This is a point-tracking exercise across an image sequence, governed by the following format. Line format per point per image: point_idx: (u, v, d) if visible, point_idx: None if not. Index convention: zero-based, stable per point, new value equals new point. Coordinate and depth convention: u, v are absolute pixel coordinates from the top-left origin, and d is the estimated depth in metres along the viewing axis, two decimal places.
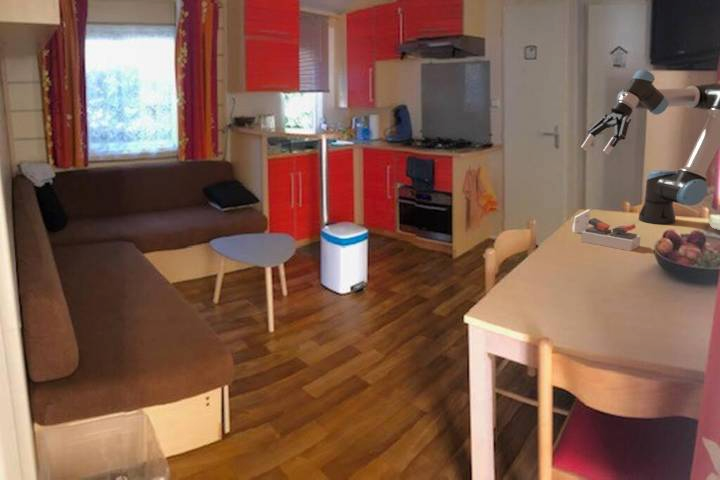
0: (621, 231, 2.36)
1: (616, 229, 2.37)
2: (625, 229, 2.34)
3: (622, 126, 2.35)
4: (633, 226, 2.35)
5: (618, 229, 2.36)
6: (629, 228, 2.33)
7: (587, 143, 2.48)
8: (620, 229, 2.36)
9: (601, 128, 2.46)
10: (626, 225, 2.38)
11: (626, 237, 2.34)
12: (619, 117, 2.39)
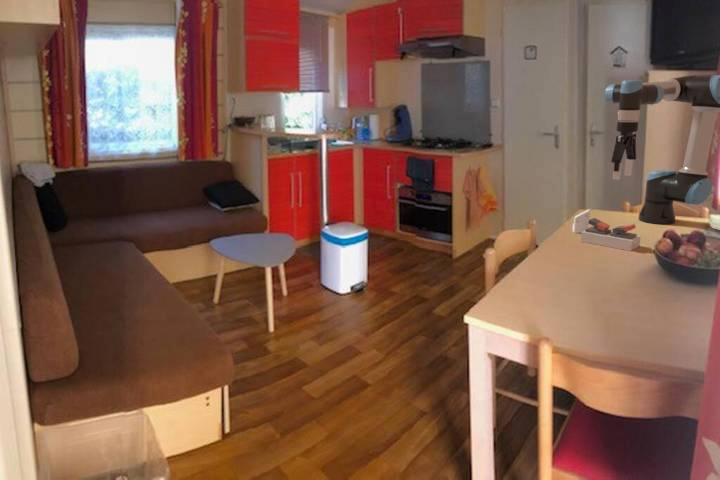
0: (621, 231, 2.36)
1: (616, 229, 2.37)
2: (625, 229, 2.34)
3: None
4: (633, 226, 2.35)
5: (618, 229, 2.36)
6: (629, 228, 2.33)
7: (627, 169, 2.43)
8: (620, 229, 2.36)
9: (628, 149, 2.39)
10: (626, 225, 2.38)
11: (626, 237, 2.34)
12: None
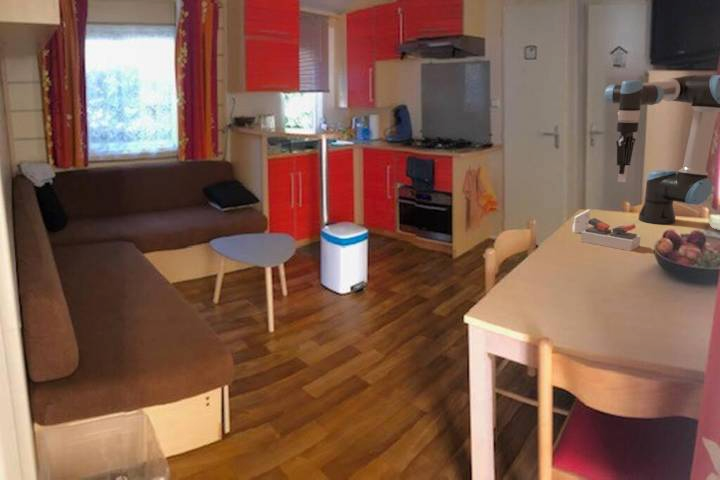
0: (621, 231, 2.36)
1: (616, 229, 2.37)
2: (625, 229, 2.34)
3: None
4: (633, 226, 2.35)
5: (618, 229, 2.36)
6: (629, 228, 2.33)
7: None
8: (620, 229, 2.36)
9: None
10: (626, 225, 2.38)
11: (626, 237, 2.34)
12: None
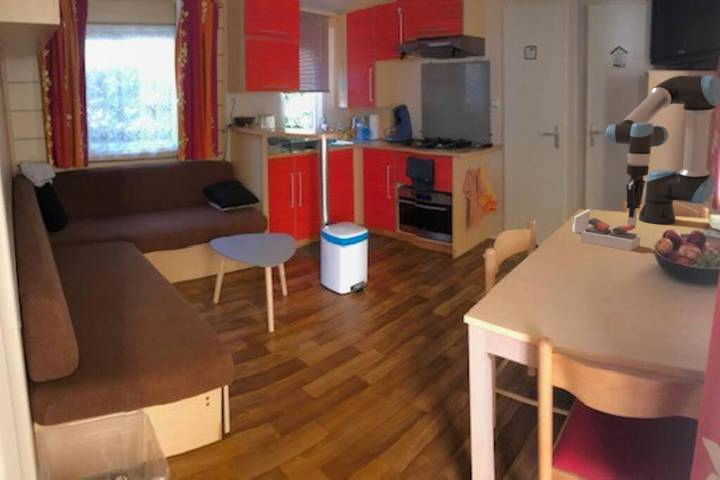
0: (621, 231, 2.36)
1: (616, 229, 2.37)
2: (625, 229, 2.34)
3: None
4: (633, 226, 2.35)
5: (618, 229, 2.36)
6: (629, 228, 2.33)
7: None
8: (620, 229, 2.36)
9: None
10: (626, 225, 2.38)
11: (626, 237, 2.34)
12: None
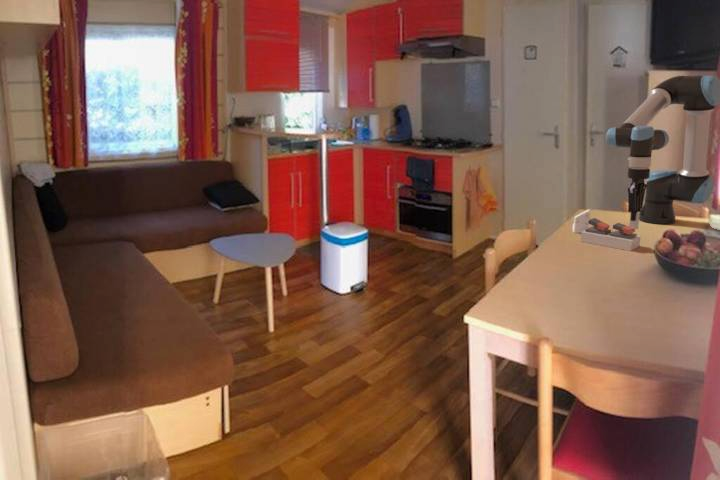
0: (620, 231, 2.36)
1: (616, 227, 2.37)
2: (625, 231, 2.35)
3: None
4: (633, 230, 2.35)
5: (618, 228, 2.36)
6: (629, 232, 2.34)
7: None
8: (620, 229, 2.36)
9: None
10: (627, 226, 2.38)
11: (626, 237, 2.34)
12: None
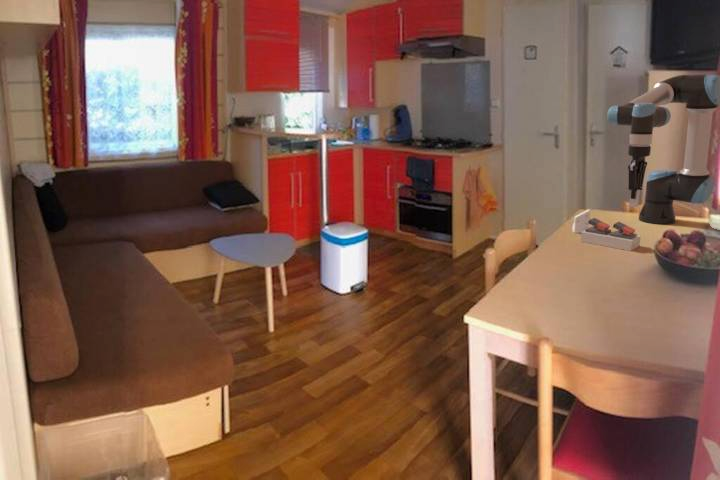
0: (620, 231, 2.36)
1: (617, 226, 2.36)
2: (624, 231, 2.35)
3: None
4: (633, 232, 2.36)
5: (619, 227, 2.36)
6: (628, 233, 2.34)
7: None
8: (620, 228, 2.36)
9: None
10: (627, 226, 2.38)
11: (626, 237, 2.34)
12: None
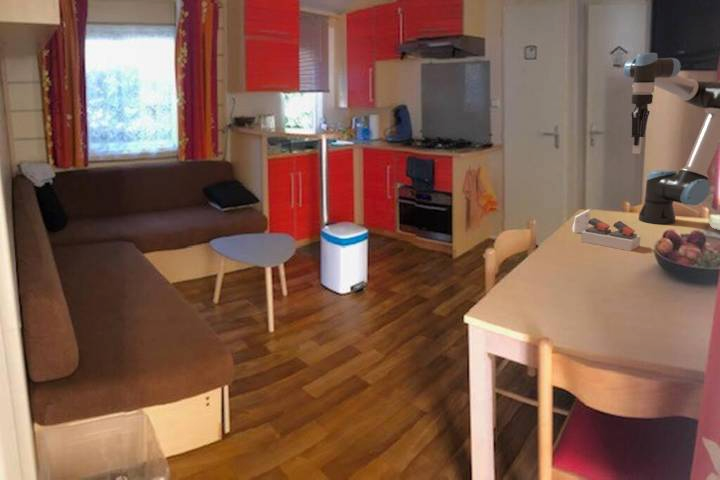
0: (620, 230, 2.36)
1: (617, 226, 2.36)
2: (624, 232, 2.35)
3: None
4: (632, 232, 2.36)
5: (619, 227, 2.36)
6: (628, 234, 2.34)
7: None
8: (620, 228, 2.36)
9: None
10: (627, 226, 2.38)
11: (626, 237, 2.34)
12: None
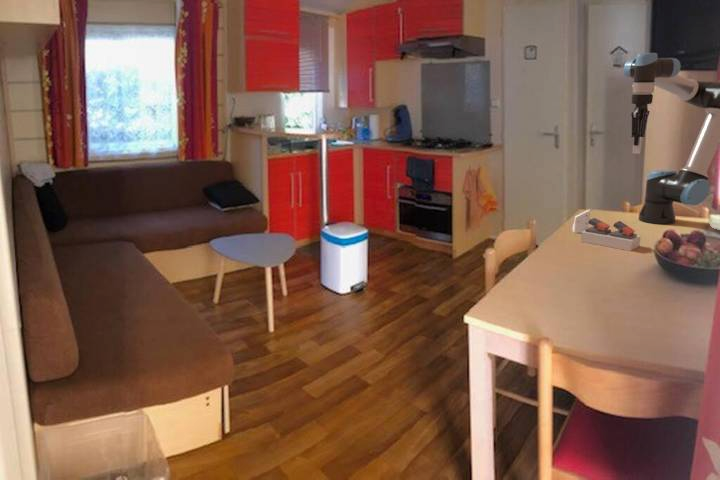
0: (620, 230, 2.36)
1: (617, 226, 2.36)
2: (624, 232, 2.35)
3: None
4: (632, 232, 2.36)
5: (619, 227, 2.36)
6: (628, 234, 2.34)
7: None
8: (620, 228, 2.36)
9: None
10: (627, 226, 2.38)
11: (626, 237, 2.34)
12: None
